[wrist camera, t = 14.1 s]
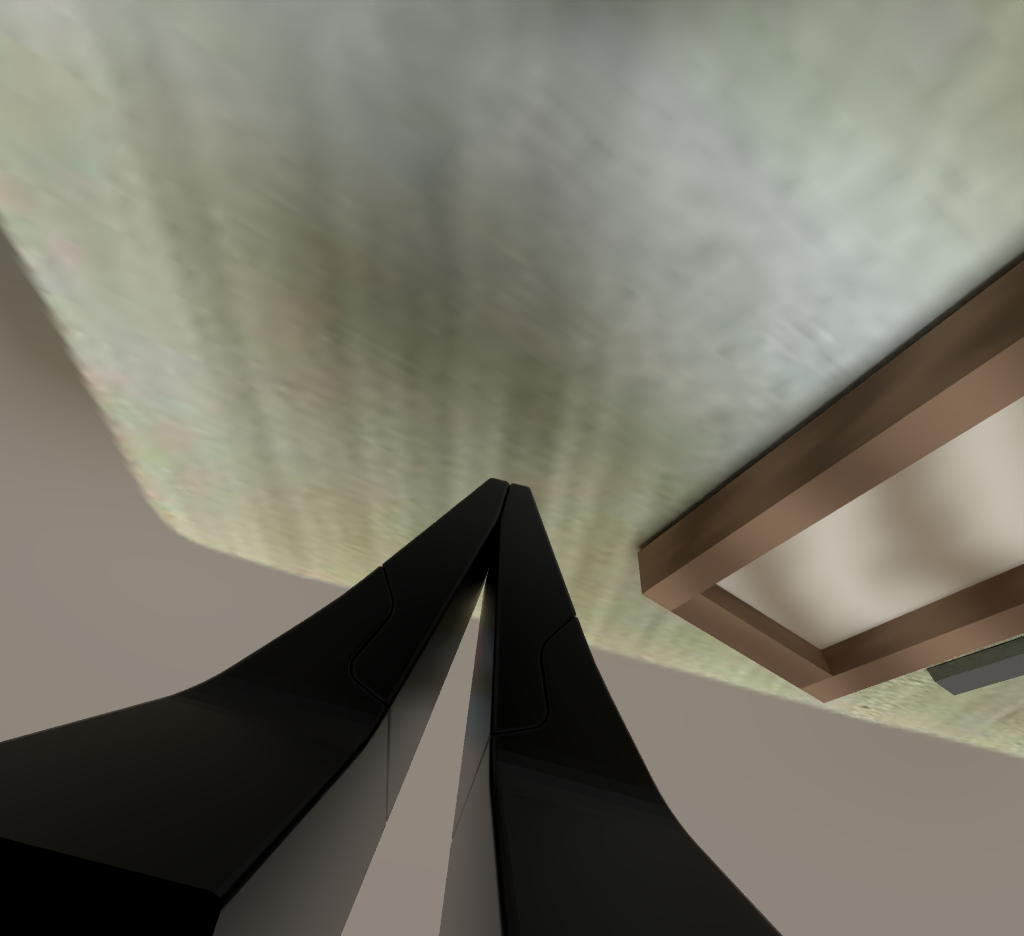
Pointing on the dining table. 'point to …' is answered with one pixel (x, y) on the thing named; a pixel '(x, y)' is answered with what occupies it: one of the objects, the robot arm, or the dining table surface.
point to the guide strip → (981, 668)
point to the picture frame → (873, 519)
